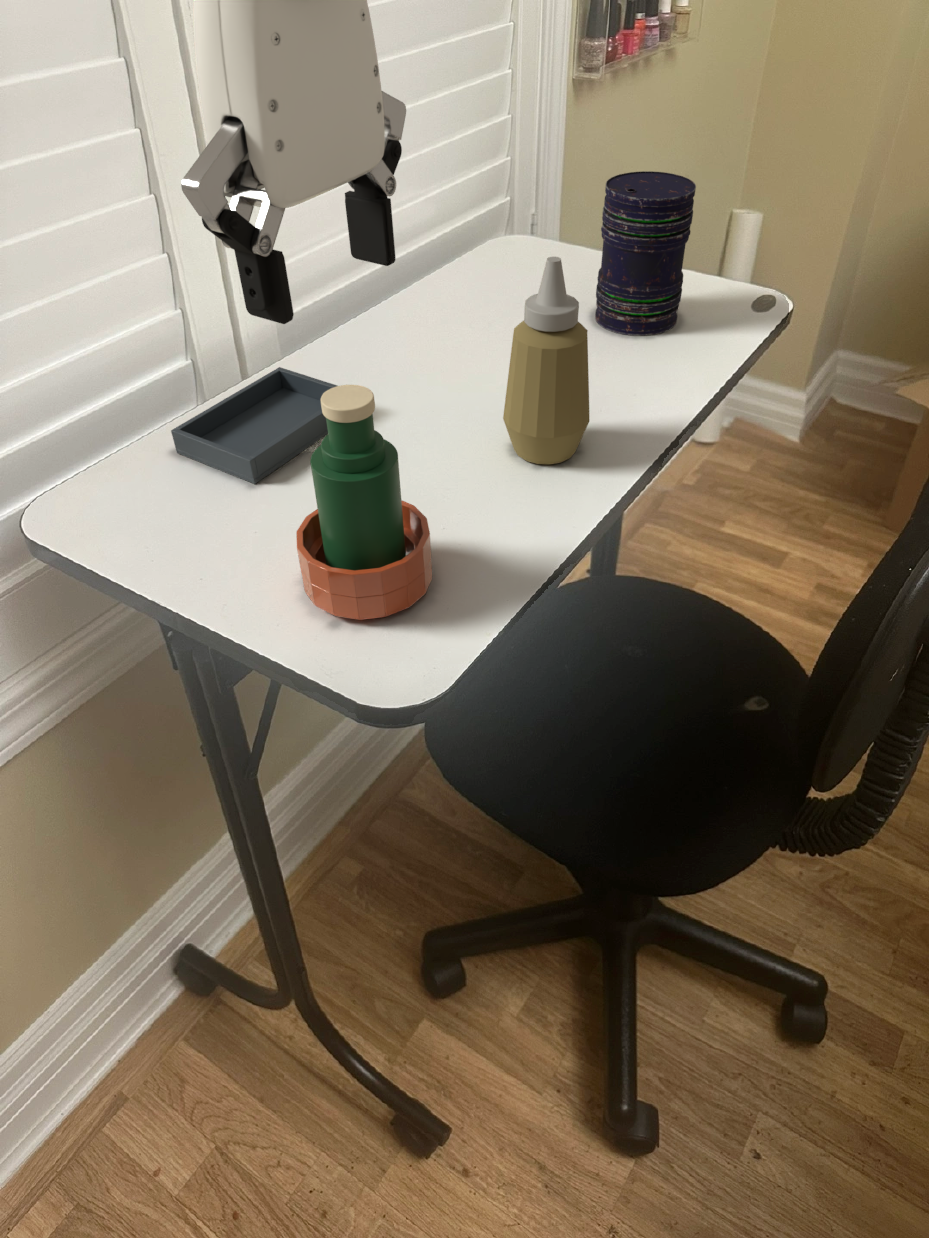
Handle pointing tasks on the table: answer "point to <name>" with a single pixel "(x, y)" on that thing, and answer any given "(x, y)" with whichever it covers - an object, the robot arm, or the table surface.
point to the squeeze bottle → (548, 374)
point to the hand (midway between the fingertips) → (324, 288)
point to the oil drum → (643, 251)
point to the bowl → (366, 573)
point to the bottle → (357, 484)
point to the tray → (257, 426)
